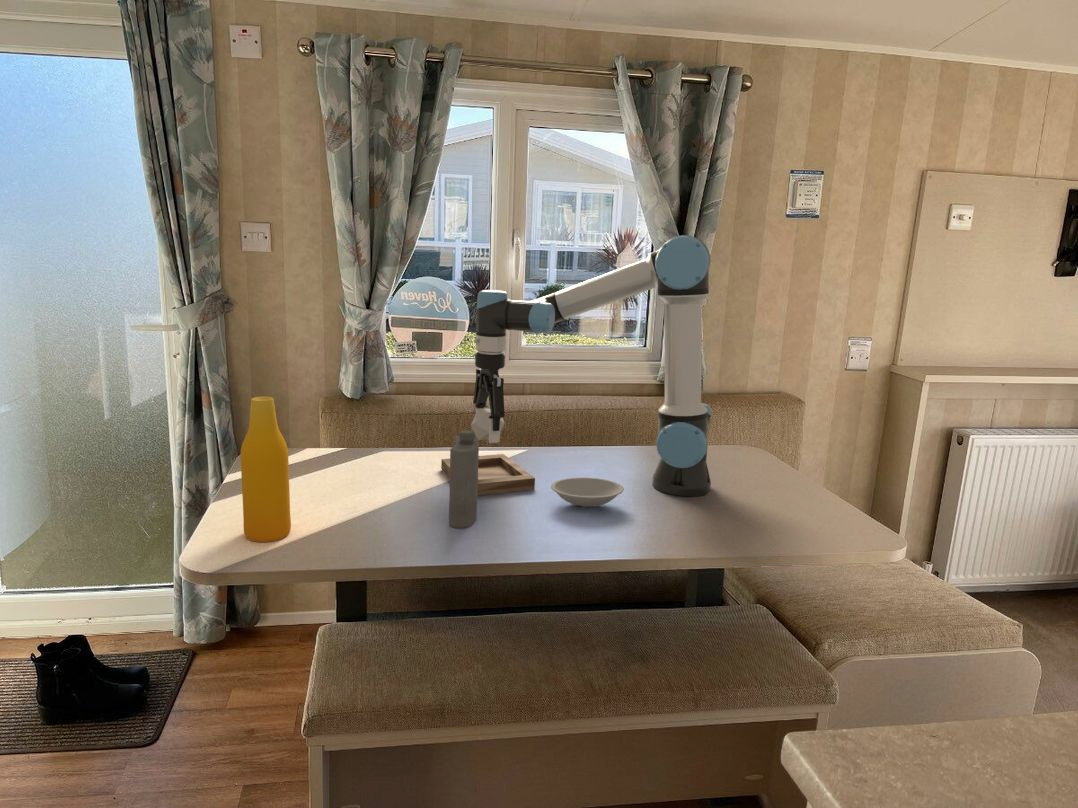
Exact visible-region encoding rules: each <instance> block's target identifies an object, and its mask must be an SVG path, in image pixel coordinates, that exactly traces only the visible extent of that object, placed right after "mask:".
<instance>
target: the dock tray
mask: <svg viewBox="0 0 1078 808" xmlns="http://www.w3.org/2000/svg"><path fill="white" fill-rule="evenodd" d="M440 469H442V470H441V471H442V473H444V474H445V475H446V476H447V477H448V479H450V457H449V458H441V465H440ZM535 488H536V478H535V477H534V476H533V475H532V474H531V473H529V471H526V470H525V469H524V468H523V467H521V466H520V465H519V464H517V463H516V462H515V461H513V460H512V459H511V458H510V457H508V456H507V455H505V454H504V453H500V454H499V453H496V454H486V455H479V458H478V495H477V496H485V495H495V494H502V493H512V492H514V493H515V492H523V491H530V490H535Z"/></svg>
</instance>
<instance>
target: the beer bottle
mask: <svg viewBox="0 0 1078 808" xmlns="http://www.w3.org/2000/svg"><path fill="white" fill-rule="evenodd" d="M250 400H251V401H250V408H249V409H250V410H249V411H250V412H249V425H248V430H247V433H246V434H245V437H244V439H243V441H242V445H241V448H240V455H239V456H240V473H241V474H240V475H241V493H242V512H243V513H242V515H243V534H244V536H245V538H246V539H247V540H249V541H251V542H254V543H271V542H275V541H279V540H282V539H285V538H286V537H287V536H289V534H290V532H291V528H292V522H291V521H292V519H291V502H290V501H291V500H290V499H291V498H290V470H289V469H290V468H289V466H290V465H289V449H288V445H287V442H286V440H285V438H284V436H283V434H282V433H281V431H280V428H279V425H278V420H277V413H276V406H275V398H274V397H271V396H256V397H252V398H251V399H250Z"/></svg>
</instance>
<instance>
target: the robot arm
mask: <svg viewBox="0 0 1078 808" xmlns="http://www.w3.org/2000/svg"><path fill="white" fill-rule="evenodd" d="M710 265H711V254H710V250H709V248H708V247H707V245H706V244H705V243H704V242H703V241H702V240H700V239H699V238H697V237H694V236H691V235H686V234H682V235H676V236H672V237H671V238H669V239H667V240H666V241H665V242H664V243H663V244H662V245H661V246H660V247H659V249H657V250H655V251H652V252H650V253H648V256H647V258H644V259H641V260H639V261H637V262H633V263H632V264H628V265H626V266H623V267H621V268H618V269H615V270H612V271H609V272H607V273H604V274H602V275H599V276H596V277H594V278H591V279H587V280H585V281H583V282H579V283H577V284H574V285H571V286H569V287H566V288H564V289H560V290H558V291H556V292H552V293H550V294H547V295H544V296H541V297H538V298H535V299H532V300H514V299H509V297H508V293H507V292H506V291H504V290H498V289H497V290H496V289H483V290H480V291H479V292H478V293H477V300H476V309H475V310H476V315H475V316H476V317H475V319H476V322H475V323H476V325H475V326H476V330H475V331H476V332H475V339H474V340H473V342H474V343H475V350H476V352H475V355H474V357H475V359H474V365H475V367H477V368H476V369H475V382H474V383H475V384H474V391H473V400H472V401H473V402H472V403H473V404H474V405H475V408H476V411H475V413H476V412H477V409H488V408H489V409H490V411H491V416H489V440H488V443H489V444H496V443H497V444H498V443H500V442H501V441H500V440H501V439H500V438H501V434H500V420H501V418H502V419H503V418H505V416H506V415H505V414H506V413H505V397H504V396H505V395H504V382H505V379H504V377H500V375H499V370H500V369H504V368H505V366H506V364H505V361H506V354H505V353H504V352H506V348H507V347H506V343H507V331H515V332H517V331H518V332H526V333H528V332H529V333H535V334H542V333H543V334H549V333H551V332H552V331H553V328H554V326H555V324H556V323H559V322H562V321H565V320H567V319H570V318H573V317H576V316H579V315H581V314H584V313H587V312H590V311H593V310H595V309H599V308H602V307H605V306H608V305H610V304H613V303H616V302H618V301H623V300H624V299H628V298H631V297H634V296H636V295H639V294H642V293H644V292H647V291H650V290H653V289H656V288H657V297H658V298H659V299H660V300H661V301H662V302H663V304H664V306H663V308H664V312H663V313H664V403H663V404H662V405H661V406H660V407H659V408H658V412H657V413H658V420H657V421H658V423H657V425H658V428H657V430H658V433H657V436H656V440H655V445H656V451H657V453H658V456H659V457H660V459H659V460H658V464H657V466H656V469H655V471H654V473H653V474H652V482H651V484H652V487H653V488H654V489H656V490H658V491H660V492H661V493H665V494H669V495H673V496H680V497H699V496H704V495H707V494H709V493H710V491H711V485H712V481H711V477H710V472H709V468H708V464H707V463H708V462H707V456H708V446H709V445H708V444H709V437H710V436H709V435H710V425H711V418H712V408H711V406H710V405H709V404H706V403H702V335H703V334H702V333H703V331H702V329H703V328H702V325H703V324H702V323H703V322H702V320H703V318H702V316H703V315H702V311H703V309H702V308H703V301H704V300H705V299H707V297H708V296H709V287H710V286H709V285H710V284H709V283H710V282H709V279H710V277H709V275H710V274H709V272H710ZM487 402H488V403H489V405H488V404H487Z"/></svg>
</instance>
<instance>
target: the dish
mask: <svg viewBox="0 0 1078 808" xmlns="http://www.w3.org/2000/svg"><path fill="white" fill-rule="evenodd" d="M550 488H551V490H552V491H553V492H555V493H556V494H557V495H558V496H559V497H560V498H561V499H562V500H564V501H565V502H567V503H568V504H572V505H575V506H579V507H583V508H585V509H587V508H590V507H597V506H602V505H605V504H607V503H609V502H611V501H613V500H614V499H615V498H616V497H618V495H620V494H621V495H622V493H623V492H624V491H625V489H624V488H625V487H624V486H623V485H622V484H620V483H618V482H616V481H613V480H610V479H604V478H597V477H585V476H584V477H583V476H582V477H581V476H580V477H568V478H562V479H559V480H556V481H553V482H552V484H551V485H550Z"/></svg>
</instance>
